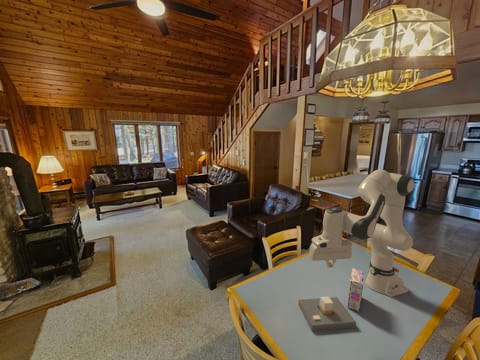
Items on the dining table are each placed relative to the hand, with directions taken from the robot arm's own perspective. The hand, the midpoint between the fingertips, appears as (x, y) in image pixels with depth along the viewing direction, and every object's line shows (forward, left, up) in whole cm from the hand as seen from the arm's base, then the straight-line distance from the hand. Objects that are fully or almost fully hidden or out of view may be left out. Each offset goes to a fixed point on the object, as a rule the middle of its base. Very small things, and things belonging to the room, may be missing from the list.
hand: (329, 266), depth 99 cm
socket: (0, 0, -27) cm, 27 cm away
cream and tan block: (0, 0, -27) cm, 27 cm away
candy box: (-21, -7, -28) cm, 35 cm away
